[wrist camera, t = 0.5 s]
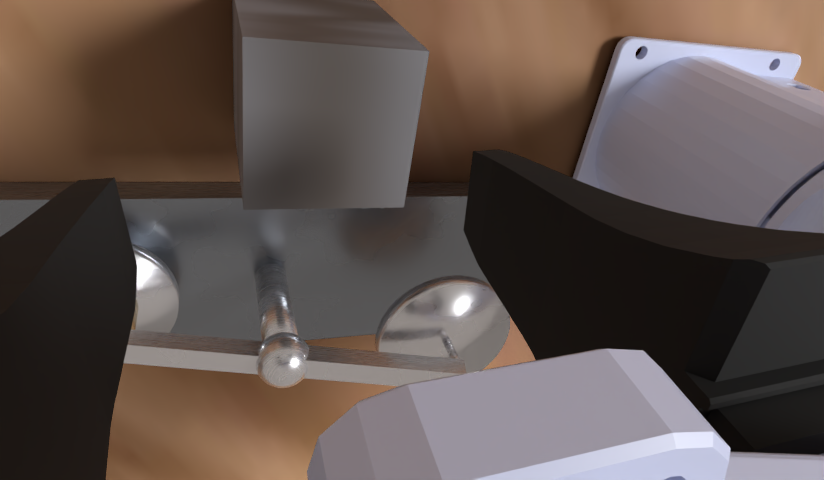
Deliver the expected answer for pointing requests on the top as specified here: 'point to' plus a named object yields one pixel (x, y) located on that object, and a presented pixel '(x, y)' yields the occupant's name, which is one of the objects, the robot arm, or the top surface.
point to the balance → (299, 283)
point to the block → (324, 103)
